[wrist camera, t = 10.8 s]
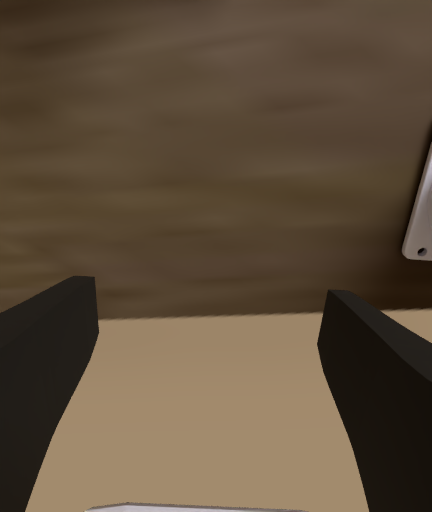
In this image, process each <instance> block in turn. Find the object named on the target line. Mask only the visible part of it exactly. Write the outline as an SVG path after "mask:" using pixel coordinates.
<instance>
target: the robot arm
mask: <svg viewBox="0 0 432 512" xmlns="http://www.w3.org/2000/svg"><path fill="white" fill-rule="evenodd" d="M421 248H424V250H423V252H422V253H419V254H418V250H419V249H421ZM402 253H403V255H404V256H405V257H406V258H408V259H414V260H429V261H432V143H431V146H430V150H429V154H428V157H427V161H426V164H425V168H424V171H423V175H422V179H421V182H420V186H419V189H418V193H417V196H416V200H415V204H414V207H413V211H412V214H411V218H410V221H409V225H408V229H407V232H406V236H405V239H404V243H403V246H402ZM98 334H99V327H98V314H97V302H96V289H95V277H88V276H73V277H70V278H68V279H66V280H64V281H62V282H60V283H58V284H56V285H54V286H52V287H50V288H49V289H47V290H45V291H43V292H41V293H39V294H37V295H36V296H34V297H32V298H30V299H28V300H26V301H24V302H22V303H20V304H18V305H16V306H14V307H12V308H10V309H8V310H6V311H4V312H2V313H0V512H25V510H26V507H27V504H28V501H29V498H30V496H31V493H32V490H33V487H34V484H35V482H36V479H37V476H38V473H39V470H40V468H41V465H42V462H43V460H44V457H45V455H46V452H47V449H48V447H49V444H50V441H51V439H52V436H53V434H54V432H55V429H56V427H57V425H58V423H59V421H60V419H61V417H62V415H63V413H64V411H65V409H66V407H67V405H68V403H69V401H70V399H71V397H72V395H73V393H74V391H75V389H76V387H77V385H78V383H79V381H80V379H81V377H82V375H83V373H84V371H85V369H86V367H87V365H88V363H89V361H90V358H91V356H92V353H93V350H94V346H95V344H96V341H97V337H98ZM317 346H318V350H319V355H320V360H321V364H322V368H323V372H324V375H325V377H326V380H327V382H328V385H329V388H330V391H331V393H332V396H333V398H334V400H335V403H336V406H337V408H338V411H339V414H340V416H341V419H342V421H343V424H344V426H345V429H346V432H347V434H348V437H349V440H350V442H351V445H352V448H353V451H354V455H355V458H356V462H357V466H358V469H359V473H360V477H361V480H362V484H363V488H364V492H365V496H366V500H367V504H368V508H369V512H432V343H430V342H429V341H427V340H425V339H424V338H422V337H420V336H419V335H417V334H415V333H413V332H412V331H410V330H408V329H407V328H405V327H404V326H402V325H400V324H399V323H397V322H396V321H394V320H393V319H391V318H390V317H388V316H387V315H385V314H384V313H382V312H381V311H379V310H378V309H376V308H375V307H373V306H372V305H371V304H369V303H368V302H366V301H365V300H363V299H361V298H360V297H358V296H357V295H355V294H353V293H351V292H350V291H345V290H328V293H327V298H326V303H325V308H324V313H323V317H322V323H321V328H320V332H319V337H318V342H317ZM84 512H306V511H302V510H286V509H263V508H240V507H239V508H238V507H219V506H195V505H174V504H150V503H129V502H127V503H120V504H113V505H105V506H97V507H92V508H90V509H88V510H86V511H84Z"/></svg>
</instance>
